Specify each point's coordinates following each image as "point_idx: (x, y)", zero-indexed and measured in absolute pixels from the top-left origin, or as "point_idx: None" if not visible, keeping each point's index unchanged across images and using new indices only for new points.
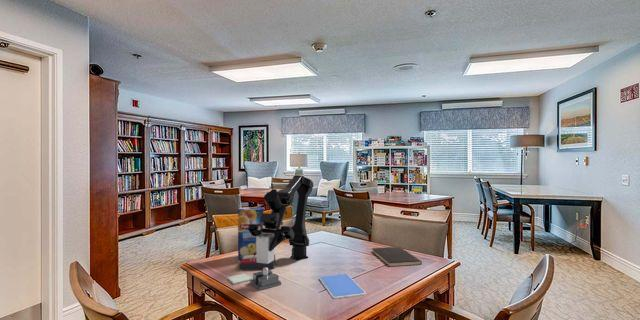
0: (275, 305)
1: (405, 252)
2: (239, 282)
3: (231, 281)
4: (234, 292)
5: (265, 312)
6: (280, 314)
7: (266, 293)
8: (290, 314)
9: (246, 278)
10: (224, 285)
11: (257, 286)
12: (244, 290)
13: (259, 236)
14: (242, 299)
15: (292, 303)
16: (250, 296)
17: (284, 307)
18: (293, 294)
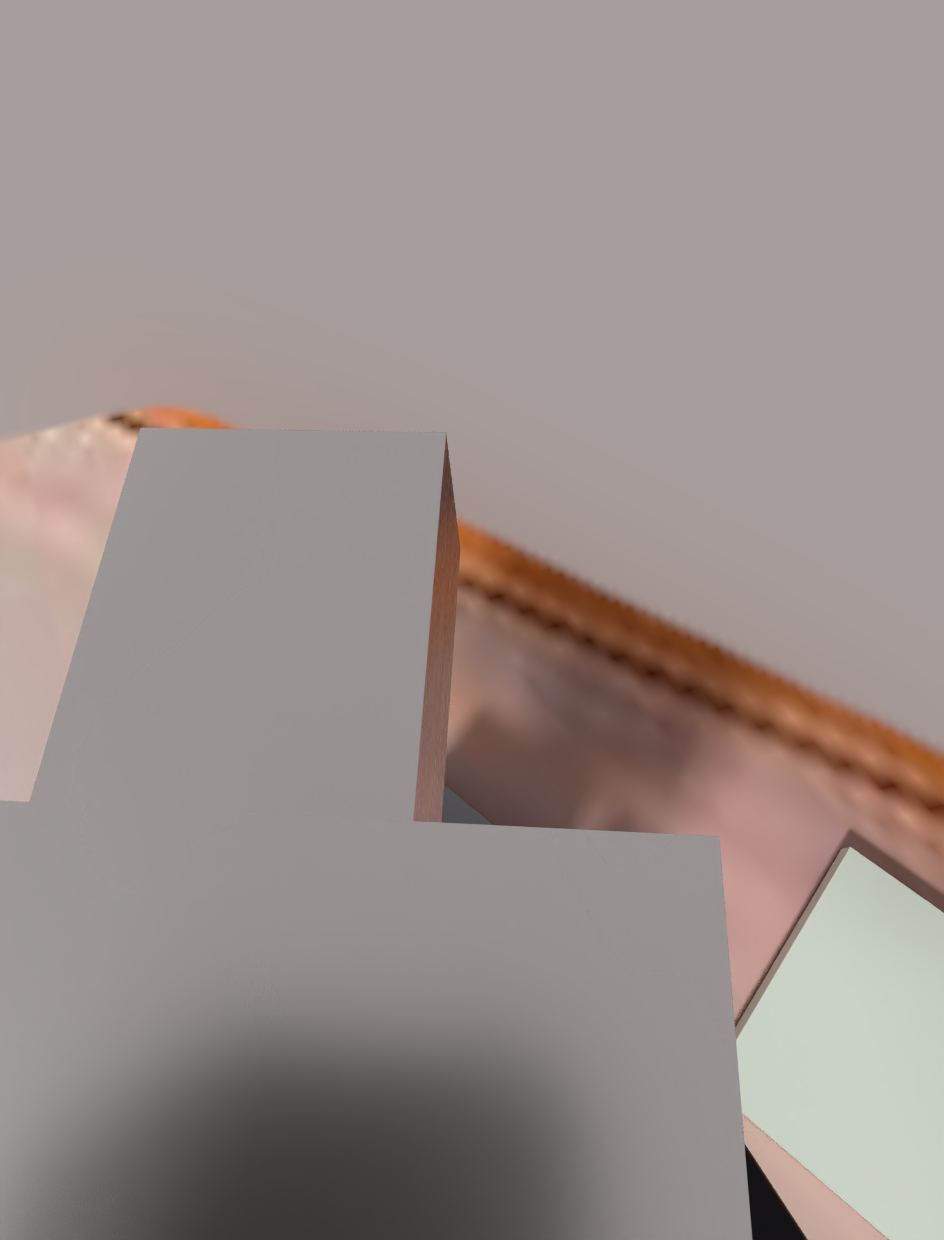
0: None
1: None
2: (805, 912)
3: (934, 910)
4: (677, 655)
5: (205, 415)
6: (81, 421)
7: None
8: (3, 440)
9: (798, 1068)
10: (933, 794)
11: (479, 814)
12: (602, 730)
13: (481, 901)
14: (501, 545)
15: (7, 600)
16: (458, 619)
17: (69, 519)
18: (19, 786)
